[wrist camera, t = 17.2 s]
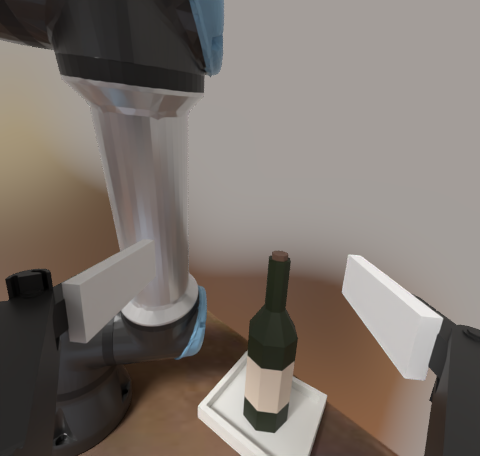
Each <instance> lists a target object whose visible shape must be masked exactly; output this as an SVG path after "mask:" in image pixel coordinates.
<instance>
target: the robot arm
mask: <svg viewBox="0 0 480 456" xmlns="http://www.w3.org/2000/svg"><path fill="white" fill-rule="evenodd" d="M223 26H224V0H0V40H3V41H7V42H12V43H17V44H21V45H27V46H32V47H38V48H44V49H51V50H54V52H55V55H56V59H57V63H58V67H59V71H60V74H61V78H62V80H63V81H64V82H65V83H67V84H68V85H69V86H70V87H71V88H72V89H73V90H74V91H76V92H77V93H78V94H79V95H80V96H81V97H82V98H83V99H85V101H86V102H87V103H88V105H89V106H90V110H91V114H92V119H93V124H94V129H95V133H96V138H97V143H98V147H99V152H100V157H101V162H102V166H103V171H104V175H105V180H106V185H107V190H108V195H109V199H110V204H111V209H112V213H113V218H114V223H115V227H116V232H117V237H118V242H119V246H120V251H121V252H119V253H117V254H115V255H113V256H111V257H110V258H108V259H106V260H104V261H102V262H100V263H98V264H97V265H95V266H93V267H91V268H89V269H87V270H85V271H83V272H81V273H79V274H78V275H75V276H74V277H71V278H70V279H68V280H66V281H64V282H62V283H60V284H58V285H56V286H54V287H53V285H52V279H51V272H50V271H49V270H47V269H33V270H27V271H22V272H19V273H15V274H13V275H11V276H9V277H7V278H6V279H5V280H6V285H7V290H8V295H9V300H8V301H2V302H0V456H76V455H78V454H81V453H83V452H85V451H86V450H88V449H90V448H92V447H93V446H95V445H96V444H98V443H99V442H100V441H102V440H103V439H104V438H105V437H106V436H107V435H108V434H110V433H111V432H112V431H113V430H114V428H115V427H116V426H117V425H118V424H119V422H120V421H121V420H122V418H123V417H124V415H125V413H126V412H127V410H128V407H129V405H130V402H131V398H132V385H131V378H130V375H129V373H128V372H127V370H126V368H125V367H124V365H123V364H131V363H140V362H148V361H157V360H165V359H181V358H182V357H187V356H193V355H195V354H196V353H198V352H199V350H200V349H201V346H202V344H203V340H204V335H205V322H206V315H207V300H206V292H205V289H204V287H202V286H198V285H197V282H196V280H195V279H194V277H193V276H192V275H191V274H190V273H189V264H188V263H189V258H188V257H189V256H188V255H189V249H188V247H189V245H188V114H189V112H190V110H191V109H192V108H193V107H194V106H195V105H196V104H197V103H198V102H199V101H200V100H201V99H202V98H203V97H204V76H205V75H209V76H210V77H211V76H212V75H216V74H218V73H219V72H220V69H221V65H222V56H223V36H222V33H223ZM342 294H343V295H344V296H345V298H346V299H347V300H348V302H349V303H350V304H351V306H352V307H353V309H354V310H355V311H356V313H357V314H358V316H359V317H360V318H361V319H362V321H363V322H364V324H365V325H366V326H367V327H368V329H369V330H370V332H371V333H372V335H373V336H374V337H375V339H376V340H377V341H378V343H379V344H380V346H381V347H382V348H383V350H384V351H385V353H386V354H387V355H388V357H389V358H390V359H391V361H392V362H393V363H394V365H395V366H396V368H397V369H398V370H399V372H400V373H401V374H402V376H403V377H404V378H406V379H416V380H425V378H426V375H427V371H428V368H430V369H431V370H432V371H433V372H434V373H435V374H436V375H437V378H436V381H435V384H434V387H433V391H432V394H431V397H430V401H431V402H432V405H431V412H430V419H429V426H428V433H427V441H426V447H425V455H424V456H480V330H479V329H476V328H473V327H469V326H465V325H456V324H455V323H453V322H452V321H451V320H449V319H448V318H447V317H445V316H444V315H442V314H441V313H440V312H438V311H436V309H434V308H433V307H431V306H430V305H429V304H428V303H426V302H425V301H424V300H422V299H421V298H419V297H417V296H415V295H413V294H411V293H409V292H408V291H407V290H405V289H404V288H403V287H401V286H400V285H399V284H397V283H396V282H395V281H393V280H392V279H391V278H389V277H388V276H387V275H386V274H384V273H383V272H382V271H380V270H379V269H378V268H376V267H375V266H374V265H372V264H371V263H369V262H368V261H367V260H366V259H364V258H363V257H362V256H359V255H348V260H347V266H346V271H345V277H344V283H343V289H342Z"/></svg>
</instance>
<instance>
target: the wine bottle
mask: <svg viewBox="0 0 480 456" xmlns="http://www.w3.org/2000/svg"><path fill="white" fill-rule="evenodd" d="M290 262H291V261H290V258H288V253H286V252H283V251H274V252H272V256H270V257H269V264H268V276H267V288H266V298H265V305H264V306H263V307H262V308H261V309H260V310H259V311H258V312H257V313H256V315H255V316H254V317H253V318H252V319H251V320H250V326H249V340H248V353H247V367H246V381H245V394H244V409H243V415H244V416H245V418H246V419H247V420H248V422H249V423H250V424H251V425H252V427H253V428H254V429H255V431H262V432H269V433H275V432H276V431H277V430H278V429H279V428H280V427H281V426H282V425H283V424H284V423H285V422H286V421H287V416H288V408H289V401H290V393H291V386H292V378H293V370H294V363H295V355H296V347H297V339H298V338H297V334H296V330H295V326H294V324H293V322H292V320H291V318H290V316H289V314H288V312H287V310H286V308H285V306H286V297H287V289H288V280H289V271H290Z"/></svg>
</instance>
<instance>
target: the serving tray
mask: <svg viewBox="0 0 480 456" xmlns="http://www.w3.org/2000/svg"><path fill="white" fill-rule="evenodd" d="M247 353H248V351H246V353H245V354H244V355H243V356H242V357H241V358H240V359H239V360H238V362H237V363H236V364H235V365H234V366H233V367H232V368H231V369H230V371H229V372H228V373H227V374H226V375H225V376H224V377H223V378H222V380H221V381H220V382H219V383H218V384H217V385H216V386H215V387H214V388H213V390H212V391H211V392H210V393H209V394H208V395H207V396H206V397H205V399H204V400H203V401H202V402H201V403H200V404H199V405H198V418H199V419H200V420H202V421H203V422H204V423H205V424H206V425H207V426H208V427H210V428H211V429H212V430H213V431H214V432H215V433H216V434H217V435H219V436H220V437H221V438H222V439H223V440H224V441H225V442H226V443H228V444H229V445H230V446H231V447H232V448H233V449H234V450H235V451H237V452H238V453H239V454H240V455H241V456H310V454H311V451H312V447H313V444H314V441H315V438H316V435H317V431H318V428H319V425H320V422H321V419H322V415H323V412H324V409H325V406H326V399H327V395H326V394H324V393H322V392H320V391H318V390H317V389H315V388H313V387H311V386H310V385H308V384H306V383H304V382H302V381H301V380H299V379H297V378H295V377H294V376H293V378H292V386H291V393H290V401H289V408H288V416H287V421H286V422H285V423H284V424H283V425H282V426H281V427H280V428H279V429H278V430H277V431H276V432H275V433H269V432H262V431H255V429H254V428H253V427H252V425H251V424H250V423H249V422H248V420H247V419H246V418H245V416H244V415H243V409H244V394H245V381H246V367H247Z"/></svg>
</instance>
